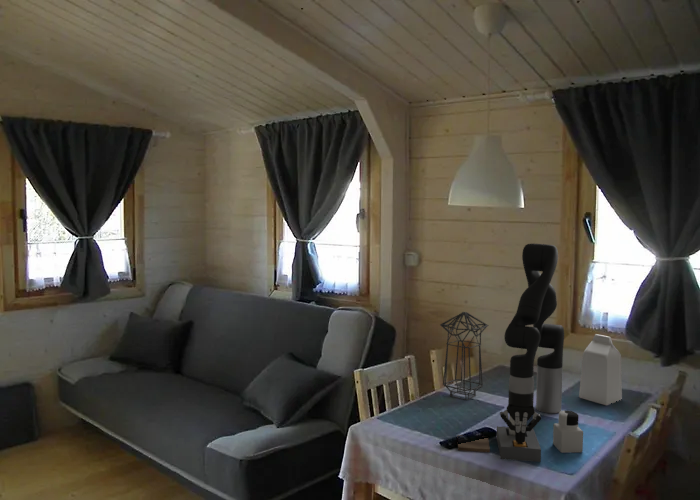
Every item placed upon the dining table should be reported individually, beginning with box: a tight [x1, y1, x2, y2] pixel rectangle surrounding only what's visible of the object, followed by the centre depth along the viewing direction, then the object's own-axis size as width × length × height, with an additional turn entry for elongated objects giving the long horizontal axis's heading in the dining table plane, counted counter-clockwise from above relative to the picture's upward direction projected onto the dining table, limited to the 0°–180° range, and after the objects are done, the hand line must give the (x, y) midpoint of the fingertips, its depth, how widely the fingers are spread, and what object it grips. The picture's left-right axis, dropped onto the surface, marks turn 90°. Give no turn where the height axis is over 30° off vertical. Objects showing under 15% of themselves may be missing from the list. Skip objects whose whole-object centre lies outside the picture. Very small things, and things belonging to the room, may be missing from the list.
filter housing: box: [495, 425, 542, 463], centre depth 193 cm, size 17×12×4 cm
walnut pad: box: [457, 434, 491, 453], centre depth 196 cm, size 10×10×1 cm
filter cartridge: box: [508, 414, 521, 436], centre depth 196 cm, size 5×5×12 cm
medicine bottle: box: [552, 410, 584, 454], centre depth 193 cm, size 7×7×12 cm
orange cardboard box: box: [513, 440, 527, 447], centre depth 187 cm, size 4×4×4 cm
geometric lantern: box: [439, 311, 489, 401], centre depth 245 cm, size 16×16×35 cm
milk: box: [578, 333, 623, 406], centre depth 241 cm, size 12×12×26 cm
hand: (519, 443), depth 187 cm, fingers closed
